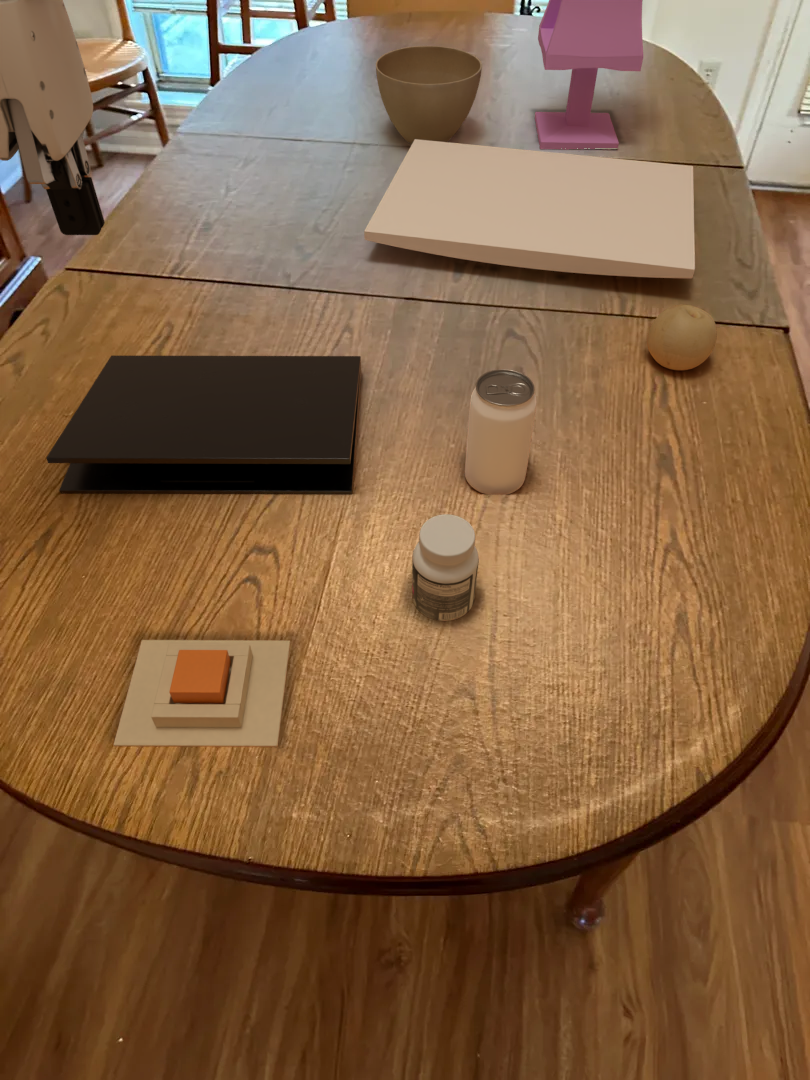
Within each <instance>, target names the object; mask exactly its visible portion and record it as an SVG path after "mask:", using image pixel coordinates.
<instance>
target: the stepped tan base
mask: <svg viewBox="0 0 810 1080" xmlns="http://www.w3.org/2000/svg"><path fill="white" fill-rule="evenodd" d="M140 641H141V642H140V645H139V649H138V652H137V657H136V660H135V663H134V668H133V672H132V675H131V679H130V682H129V686H128V690H127V693H126V697H125V701H124V704H123V707H122V712H121V715H120V719H119V723H118V727H117V730H116V734H115V738H114V742H113V746H114V747H173V748H174V747H177V748H178V747H185V748H189V747H191V748H192V747H194V748H195V747H196V748H197V747H199V748H201V747H202V748H203V747H204V748H207V747H209V748H213V747H214V748H215V747H217V748H219V747H220V748H278V746H279V741H280V740H279V739H280V732H281V723H282V716H283V715H282V714H283V708H284V699H285V689H286V682H287V673H288V666H289V665H288V664H289V657H290V650H291V649H290V648H291V640H287V639H286V640H280V639H279V640H276V639H275V640H274V639H273V640H271V639H269V640H268V639H267V640H265V639H264V640H263V639H262V640H260V639H258V640H255V639H254V640H253V639H252V640H251V639H249V640H248V639H246V640H245V639H141V640H140ZM179 650H227V651H228V654H229V657H230V660H231V664H230V669H229V675H228V681H227V686H226V692H225V698H224V703H174V702H173V699H172V697H171V695H170V693H169V691H170V687H171V683H172V678H173V674H174V670H175V665H176V661H177V657H178V652H179Z"/></svg>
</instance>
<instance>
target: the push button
mask: <svg viewBox="0 0 810 1080" xmlns="http://www.w3.org/2000/svg"><path fill="white" fill-rule="evenodd" d="M230 664H231V660H230V657H229V654H228V651H227V650H179V652H178V657H177V661H176V665H175V670H174V674H173V678H172V683H171V687H170V691H169V693H170V695H171V697H172V699H173V702H174V703H224V698H225V692H226V686H227V681H228V675H229V669H230Z"/></svg>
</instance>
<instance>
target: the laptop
mask: <svg viewBox="0 0 810 1080" xmlns="http://www.w3.org/2000/svg"><path fill="white" fill-rule="evenodd" d="M362 374H363V373H362V363H361V364H360V374H359V384H358V393H357V403H356V413H355V422H354V432H353V442H352V451H351V461H350V464H132V463H69V466H68V468H67V470H66V472H65V475H64V477H63V480H62V482H61V484H60V486H59V489H58V491H59V494H61V495H303V496H305V495H306V496H307V495H308V496H309V495H313V496H315V495H319V496H320V495H321V496H322V495H324V496H325V495H328V496H329V495H330V496H331V495H333V496H335V495H337V496H338V495H339V496H340V495H341V496H347V495H349V496H350V495H351V496H352V495H354V490H355V489H354V488H355V477H356V460H357V445H358V444H357V443H358V431H359V419H360V418H359V417H360V405H361V404H360V403H361V388H362V376H363V375H362Z"/></svg>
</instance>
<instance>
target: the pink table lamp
mask: <svg viewBox="0 0 810 1080" xmlns="http://www.w3.org/2000/svg"><path fill="white" fill-rule="evenodd" d="M538 25H539V26H538V33H537V40H538V45H539V47H540V51H541V57H542V63H543V68H544V69H543V70H544V71H570V70H571V74H570V82H569V89H568V95H567V101H566V109H565V111H535V113H534V123H535V122H536V123H535V128H537V129H536V135H537V134H538V135H537V139H538V140H537V141H538V146H539V145H540V146H539V149H540V150H569V149H577V148H578V149H584V148H587V149H588V148H590V149H595V148H618V149H619V145H620V143H619V139H618V137H617V134H616V130H615V128H614V124H613V122H612V118H611V115H610V113H609V112H592V106H593V100H594V94H595V88H596V83H597V77H598V70H599V69H605V70H606V69H607V70H613V71H619V72H641V71H642V67H643V61H644V44H643V43H644V41H643V0H548V2H547V5H546V8H545V10H544V13H543V16H542V18H541V21H540V23H539V24H538ZM561 148H562V149H561ZM565 148H566V149H565Z"/></svg>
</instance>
